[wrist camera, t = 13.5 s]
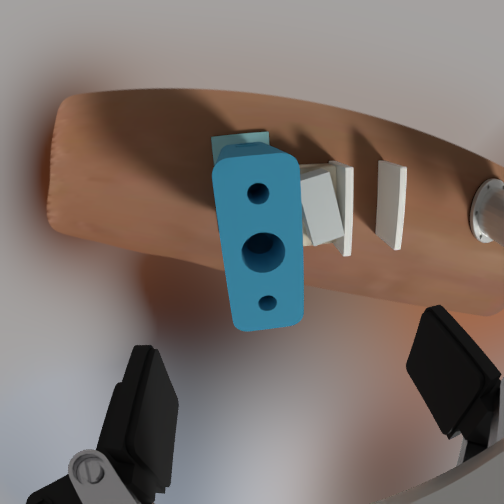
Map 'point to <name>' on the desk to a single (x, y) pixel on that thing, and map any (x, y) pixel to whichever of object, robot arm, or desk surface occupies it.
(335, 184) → the block
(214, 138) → the mat
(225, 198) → the block
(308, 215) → the upper offcut
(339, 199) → the rack
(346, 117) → the desk surface
